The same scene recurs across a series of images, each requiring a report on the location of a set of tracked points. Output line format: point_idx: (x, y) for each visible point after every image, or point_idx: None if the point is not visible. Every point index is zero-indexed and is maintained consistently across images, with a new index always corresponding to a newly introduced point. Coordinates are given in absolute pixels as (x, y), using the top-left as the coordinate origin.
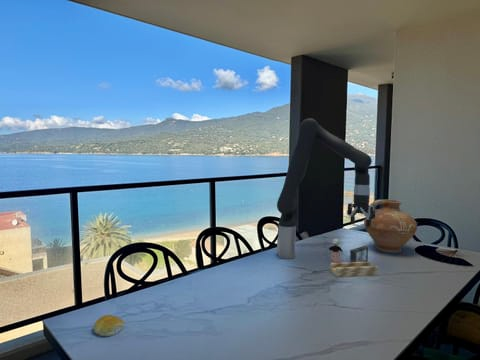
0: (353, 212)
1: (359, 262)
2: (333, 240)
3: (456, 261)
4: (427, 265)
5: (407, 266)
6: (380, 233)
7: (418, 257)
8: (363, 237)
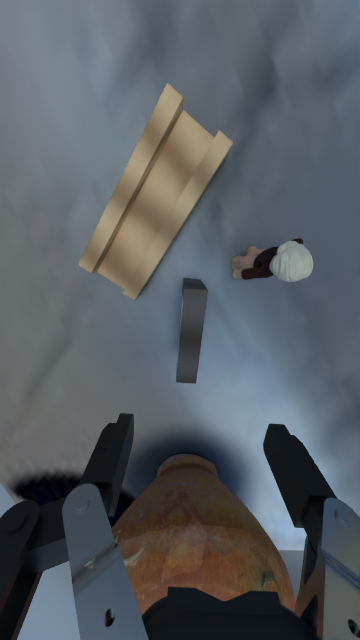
0: (343, 591)
1: (150, 260)
2: (307, 252)
3: (44, 493)
4: (62, 433)
5: (86, 394)
6: (184, 503)
7: None
8: (282, 518)
